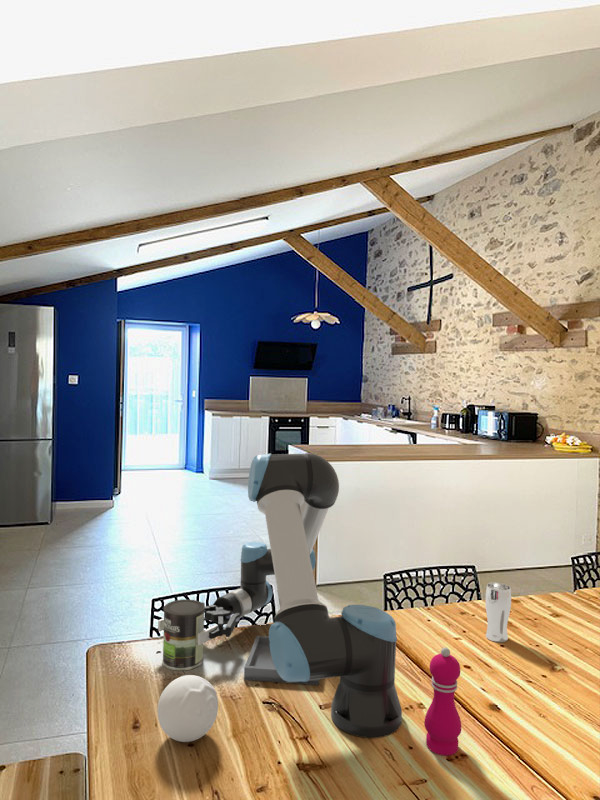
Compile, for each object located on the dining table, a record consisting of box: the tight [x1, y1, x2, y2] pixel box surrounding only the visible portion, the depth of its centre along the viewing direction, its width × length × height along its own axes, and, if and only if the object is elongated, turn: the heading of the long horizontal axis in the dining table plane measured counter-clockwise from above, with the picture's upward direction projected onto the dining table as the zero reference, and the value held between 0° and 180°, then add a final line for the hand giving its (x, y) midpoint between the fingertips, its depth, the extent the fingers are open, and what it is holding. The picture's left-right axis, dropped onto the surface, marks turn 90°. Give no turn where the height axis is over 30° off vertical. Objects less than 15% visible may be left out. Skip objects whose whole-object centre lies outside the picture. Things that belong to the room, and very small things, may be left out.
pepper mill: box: [424, 647, 462, 756], centre depth 119 cm, size 7×7×20 cm
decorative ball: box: [157, 674, 219, 743], centre depth 120 cm, size 12×12×12 cm
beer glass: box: [484, 581, 512, 643], centre depth 171 cm, size 7×7×15 cm
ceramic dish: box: [243, 635, 320, 686], centre depth 152 cm, size 18×18×3 cm
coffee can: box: [162, 598, 206, 672], centre depth 152 cm, size 10×10×14 cm
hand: (178, 632), depth 151 cm, fingers open, 13 cm apart
